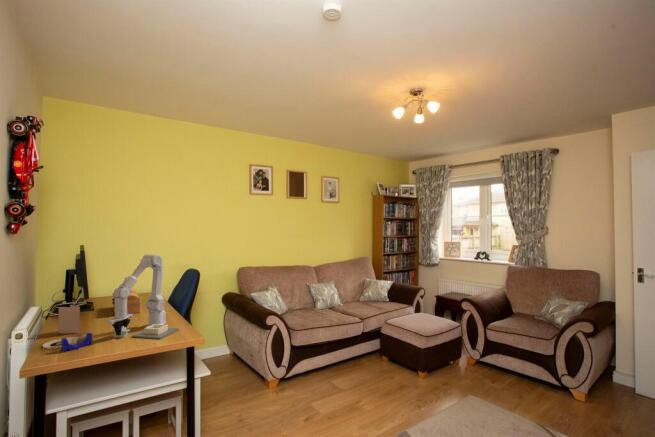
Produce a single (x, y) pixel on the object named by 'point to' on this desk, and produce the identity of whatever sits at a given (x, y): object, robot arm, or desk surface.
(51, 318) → the desk surface
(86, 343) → the blue cradle holder
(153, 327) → the pocket plate
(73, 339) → the light piece
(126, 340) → the desk surface
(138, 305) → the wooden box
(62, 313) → the greeting card
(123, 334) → the block
